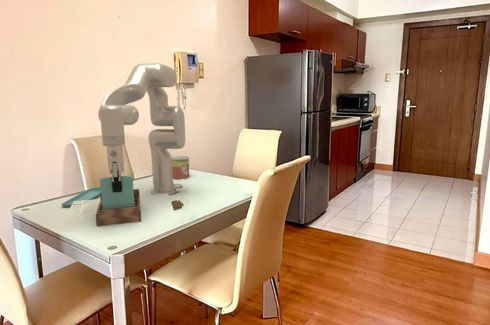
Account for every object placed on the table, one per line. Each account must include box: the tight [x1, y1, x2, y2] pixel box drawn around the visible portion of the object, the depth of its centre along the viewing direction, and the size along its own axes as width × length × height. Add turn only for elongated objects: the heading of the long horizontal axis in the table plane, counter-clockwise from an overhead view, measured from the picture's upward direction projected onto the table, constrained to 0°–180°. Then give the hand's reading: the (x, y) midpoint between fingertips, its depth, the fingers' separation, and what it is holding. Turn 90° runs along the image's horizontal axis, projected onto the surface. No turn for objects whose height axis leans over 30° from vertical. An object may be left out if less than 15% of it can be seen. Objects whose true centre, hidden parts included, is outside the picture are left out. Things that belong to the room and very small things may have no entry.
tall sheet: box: [99, 175, 135, 210], centre depth 127 cm, size 11×2×16 cm, turn 108°
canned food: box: [171, 155, 190, 181], centre depth 204 cm, size 11×11×12 cm
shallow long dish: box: [61, 187, 101, 209], centre depth 162 cm, size 26×9×2 cm, turn 177°
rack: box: [95, 188, 142, 227], centre depth 134 cm, size 15×20×9 cm
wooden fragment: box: [170, 199, 184, 211], centre depth 148 cm, size 26×11×1 cm, turn 167°
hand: (117, 190), depth 126 cm, fingers closed on tall sheet, 2 cm apart
